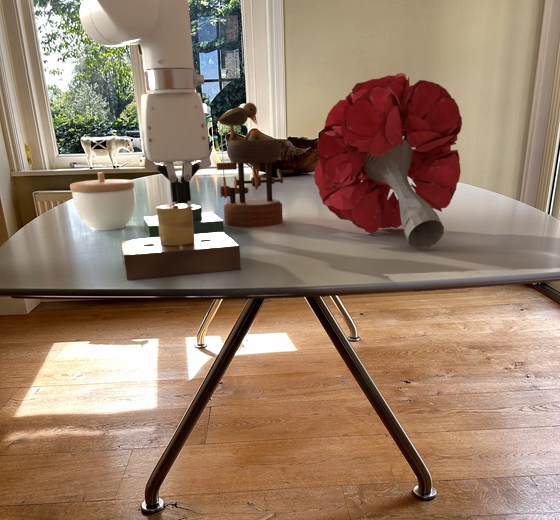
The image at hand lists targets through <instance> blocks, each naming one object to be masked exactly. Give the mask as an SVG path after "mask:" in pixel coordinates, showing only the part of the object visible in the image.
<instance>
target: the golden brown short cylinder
mask: <svg viewBox="0 0 560 520" xmlns="http://www.w3.org/2000/svg"><path fill="white" fill-rule="evenodd" d="M192 205H193V204H176V203H169V204H162V205H158V206H156V216H157V218H158V227H159V237H160V244H162V245H167V246H179V245H187V244H191V243H194V242H195V237H194V225H193V213H192Z"/></svg>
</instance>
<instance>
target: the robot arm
mask: <svg viewBox="0 0 560 520" xmlns="http://www.w3.org/2000/svg"><path fill="white" fill-rule="evenodd" d="M189 4H190V3H189V0H82V1H81V4H80V7H79V20H80V21H79V22H80V24H81V26H82V28H83V30H84V32H85V33H86V35H87V36H88V37H89V38H90V39H91V40H92V41H93V42H95V43H97V44H99V45H101V46H103V47H111V48H114V47H115V48H117V47H125V46H131V45H140V46H141V54H142V55H141V56H142V64H143V72H144V79H145V80H144V81H145V90H146V93H144V94H141V100H140V122H141V123H140V124H141V138H142V147H143V148H142V149H143V155H144V164H143V167H144V169H145V170H147V171H150V172H155V173H160V174H161V175H162V176H163V177H165V178H166V179H167V180H168V181H169V186H170V198H171V202H172V203H175V204H188V203H189V202H191V201H192V197H191V196H192V195H191V185H190V184H191V183H190V182H191V180H192V179H193V177H194V176H195V175H196V173H197V172H198V171H200V170H203V169H207V168H209V167H211V166H212V161H211V158H210V143H209V134H208V126H207V120H206V113H205V109H204V103H203V99H202V96H201V93H200V92H197V90H196V89H197V87H198V86H200V85H205V77H204V76H205V75H204V74H199V73H197V72H196V69H195V65H194V55H193V54H194V53H193V41H192V28H191V27H192V26H191V15H190V5H189ZM193 161H194V162H193ZM178 162H181V176H180V177H177V174H176V169H175V165H174V163H178ZM161 163H163V164H161ZM179 178H180V180H179Z"/></svg>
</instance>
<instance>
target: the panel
mask: <svg viewBox="0 0 560 520" xmlns="http://www.w3.org/2000/svg"><path fill="white" fill-rule="evenodd" d="M194 237H195V242H194V243H191V244H187V245H179V246H167V245H162V244H160V237H156V238H149V237H146V238H133V239H120V240H119V245H120V253H121V259H122V265H123V269H124V273H125V277H126V280H127V281H133V280H143V279H153V278H163V277H174V276H185V275H196V274H206V273H216V272H217V273H218V272H227V271H238V270H241V269H242V267H241V265H242V264H241V247H240V246H241V245H240V244H238V243H237V242H236V241H235V240H234V239H232V238H231V237H229V236H228V235H227V234H226V233H225V231H224V232H220V233H208V234H195V235H194Z"/></svg>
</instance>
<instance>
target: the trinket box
mask: <svg viewBox="0 0 560 520" xmlns="http://www.w3.org/2000/svg"><path fill="white" fill-rule="evenodd" d="M69 188H70V191H71V197H72V202H73V205H74V208H75V210H76V211H75V212H76V214H77V215H78V217H79V219H80V220H81V222H83V223H84V224H85V225H86V226H88V227H89V228H90V230H91V231H99V232H100V231H103V232H104V231H117V230H121V229H125V228H126V227H127V224H128V223H129V222H130V220H131V219H132V217H133V215H134V211H135V205H136V204H135V203H136V197H135V196H136V195H135V182H134V180H132V179H123V178H122V179H119V178H108V179H105V173H104V172H103V171H101V172H97V179H91V180H83V181H82V180H81V181H76V182H72V183H70V184H69Z"/></svg>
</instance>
